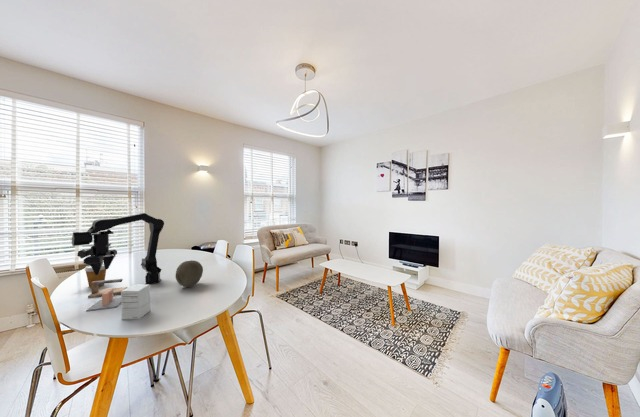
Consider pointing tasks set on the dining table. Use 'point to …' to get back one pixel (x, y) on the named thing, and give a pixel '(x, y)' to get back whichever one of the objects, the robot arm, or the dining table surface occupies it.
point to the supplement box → (135, 301)
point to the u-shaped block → (107, 297)
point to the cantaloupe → (189, 273)
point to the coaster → (98, 305)
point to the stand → (99, 293)
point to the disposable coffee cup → (93, 277)
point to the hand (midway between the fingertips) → (101, 271)
